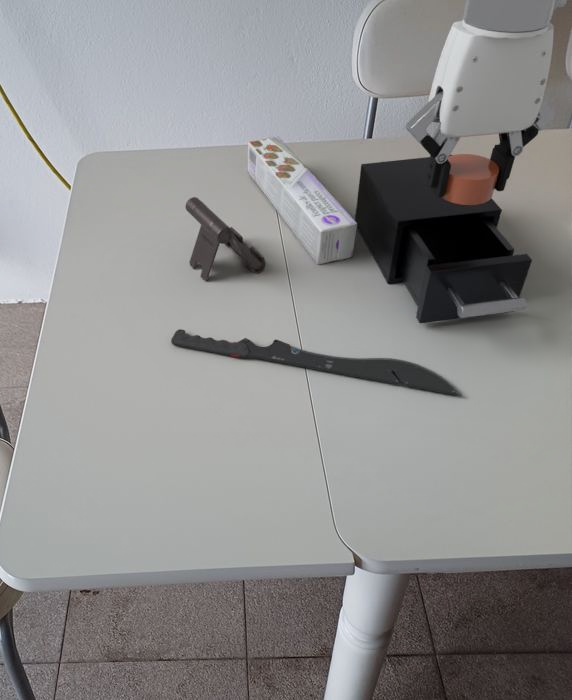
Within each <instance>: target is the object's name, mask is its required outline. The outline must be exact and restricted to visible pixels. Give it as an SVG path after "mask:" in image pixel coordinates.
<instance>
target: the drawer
mask: <svg viewBox="0 0 572 700" xmlns="http://www.w3.org/2000/svg"><path fill="white" fill-rule="evenodd" d="M515 251H516V249H515V247H514V246H513V245H512V244H511V243H510V242H509V240H508V239H506V237H505V236H504V235H503V234H502V233H501V231H500V230H499V228H498V227H497V228H496V227H495V226H494V224H493V223H492V222H491V221H490V220H489V218H488V217H482V218H473V219H465V220H456V221H447V222H438V223H429V224H420V225H411V226H404V228H403V234H402V240H401V245H400V251H399V257H398V263H397V268H396V270H397V272H398V274H399V275H400V277H401V279H402V281H403V282H402V283H403V284H404V286H405V288H406V289H407V291H408V293H409V295H410V296H411V298H412V300H413V301H414V303H415V305H416V307H417V310H416V315H415V318H416V320H417V322H418V323H419V324H428V323H435V322H443V321H451V320H458V319H467V318H476V317H484V316H492V315H500V314H509V313H514V312H519V311H525V309H526V307H527V301H526V299H525V298H524V297H523V296H521V293H522V291H523V287H524V285H525V282H526V280H527V277H528V273H529V270H530V268H531V264H532V262H533V259H532V258H531V257H530V255H529V254H528V253H523V254H514V253H515Z"/></svg>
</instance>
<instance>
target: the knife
mask: <svg viewBox="0 0 572 700" xmlns="http://www.w3.org/2000/svg"><path fill="white" fill-rule="evenodd" d="M170 342H171V345H173V346H177V347H181V348H187V349H193V350H197V351H204V352H209V353H214V354H220V355H226V356H230V357H234V358H241V359H246V358H252V359H258V360H264V361H268V362H273V363H279V364H284V365H290V366H295V367H301V368H306V369H312V370H317V371H321V372H327V373H332V374H333V373H334V374H338V375H342V376H343V375H344V376H348V377H354V378H360V379H365V380H371V381H376V382H382V383H387V384H392V385H398V386H401V385H403V386H404V387H408V388H415V389H419V390H424V391H429V392H435V393H441V394H447V395H452V396H462V394H461V392H459V390H458V389H457V388H456V387H455V386H454V385H453V384H452V383H450V382H449V381H448V380H447V379H446V378H444V377H443V376H441V375H440V374H438V373H436V372H435V371H433V370H432V369H429V368H427V367H425V366H423V365H420V364H418V363H415V362H412V361H408V360H403V359H398V358H390V357H360V358H359V357H344V356H335V355H329V354H323V353H317V352H313V351H308V350H305V349H301V348H298V347H295V346H292V345H291V344H289V343H287V342H284V341H282V340H279V339H274V340H272V343H271V344H269V345H266V346H259V345H257V344H255V343H254V342H253V341H252V340H251V339H249V338H247V337H244V338H243V339H241V340H238V341H233V342H232V341H231V342H230V341H228V340H226V339H219V340H218V339H215V338H213V337H210V336H209V337H202V336H200V335H199V334H195V335H189V334H188V333H186V330H185V329H182V328H181V329H180V328H179V329H177V330H176V331H175V332H174V334H173V336H172V338H171V340H170Z"/></svg>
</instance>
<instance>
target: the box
mask: <svg viewBox="0 0 572 700" xmlns="http://www.w3.org/2000/svg"><path fill="white" fill-rule="evenodd" d="M247 173H248V174H249V176H250V177H252V179H253V180H254V182H255V183H256V184H257V186H258V187H259V188H260V189H261V191H262V192H263V194H264V195H265V196H266V198H267V199H268V200H269V202H270V203H271V205H272V206H273V207H274V209H275V210H276V211H277V212H278V214H279V215H280V216H281V218H282V220H283V221H285V223H286V225H288V227H289V228H290V230H291V231H292V232H293V234H294V235H295V237H296V238H297V239H298V240H299V241H300V243H301V244H302V246H303V247H304V249H306V251H307V252H308V253H309V255H310V257H311V258H312V259H313V260H314V262H315V263H316V265H322V264H323V265H324V264H327V263H330V262H336V261H342V260H346V259H350V258H352V257H353V255H354V250H355V242H356V236H357V230H358V229H357V222H356V221H355V218H353V217H352V216H351V215H350V214H349V212H348V211H347V210H346V209H345V208H344V207H343V206H342V205H341V204H340V202H339V201H338V200H337V199H336V198H335V197H334V195H332V194H331V193H330V192H329V190H327V188H326V187H325V186H324V185H323V184H322V183H321V182H320V180H318V178H317V177H316V176H315V175H314V174H313V173H312V171H310V170H309V168H307V166H306V165H305V164H304V163H303V162H302V161H301V159H300V158H299V157H297V155H295V153H294V152H293V151H292V150H291V149H290V148H289V146H288V145H287V144H286V143H285V142H284V141H283V140H282V139H281V137H280V136H271V137H267V138H263V139H261V138H260V139H256V140H252V141H251V140H250V141H248V142H247Z"/></svg>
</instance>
